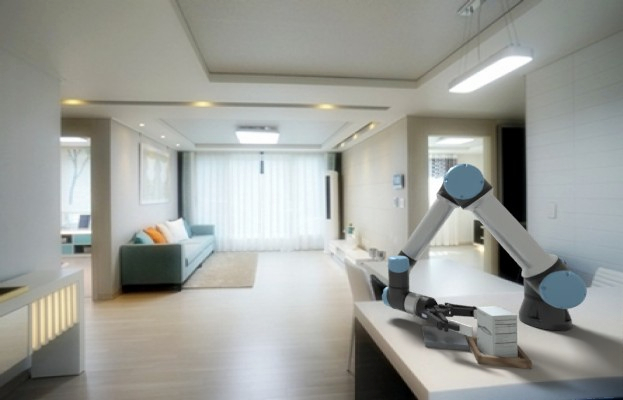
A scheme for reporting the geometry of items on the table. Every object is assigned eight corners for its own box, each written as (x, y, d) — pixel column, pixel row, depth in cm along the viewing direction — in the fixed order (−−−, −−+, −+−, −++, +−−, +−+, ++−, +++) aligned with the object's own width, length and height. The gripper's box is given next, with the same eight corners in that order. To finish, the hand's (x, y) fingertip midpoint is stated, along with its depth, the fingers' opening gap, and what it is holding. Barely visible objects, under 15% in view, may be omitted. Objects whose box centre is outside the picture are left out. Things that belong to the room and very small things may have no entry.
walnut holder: (513, 346, 94) (513, 340, 94) (531, 368, 82) (531, 361, 82) (467, 342, 97) (467, 336, 97) (478, 363, 85) (477, 355, 85)
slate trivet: (460, 333, 104) (460, 328, 104) (468, 350, 92) (468, 345, 92) (422, 330, 107) (422, 325, 107) (425, 346, 95) (425, 341, 95)
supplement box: (476, 349, 93) (475, 306, 93) (500, 347, 93) (499, 305, 93) (493, 362, 85) (492, 315, 85) (518, 360, 86) (518, 314, 86)
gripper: (443, 309, 116) (505, 327, 98) (397, 325, 102) (460, 351, 84) (442, 288, 116) (504, 303, 98) (397, 302, 102) (460, 323, 84)
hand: (484, 325), depth 91 cm, fingers open, 13 cm apart
